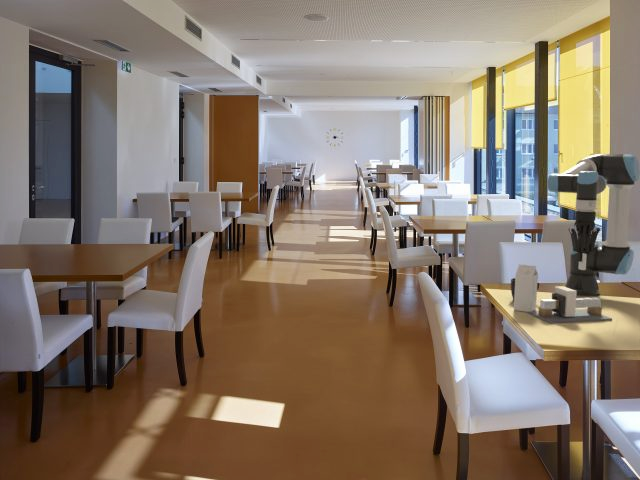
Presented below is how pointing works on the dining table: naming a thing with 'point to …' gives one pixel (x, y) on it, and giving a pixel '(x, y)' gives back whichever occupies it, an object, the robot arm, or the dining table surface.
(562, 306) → the ring
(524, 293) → the milk carton
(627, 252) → the robot arm
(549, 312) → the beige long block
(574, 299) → the sleeve
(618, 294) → the dining table surface
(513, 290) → the mug
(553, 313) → the board
